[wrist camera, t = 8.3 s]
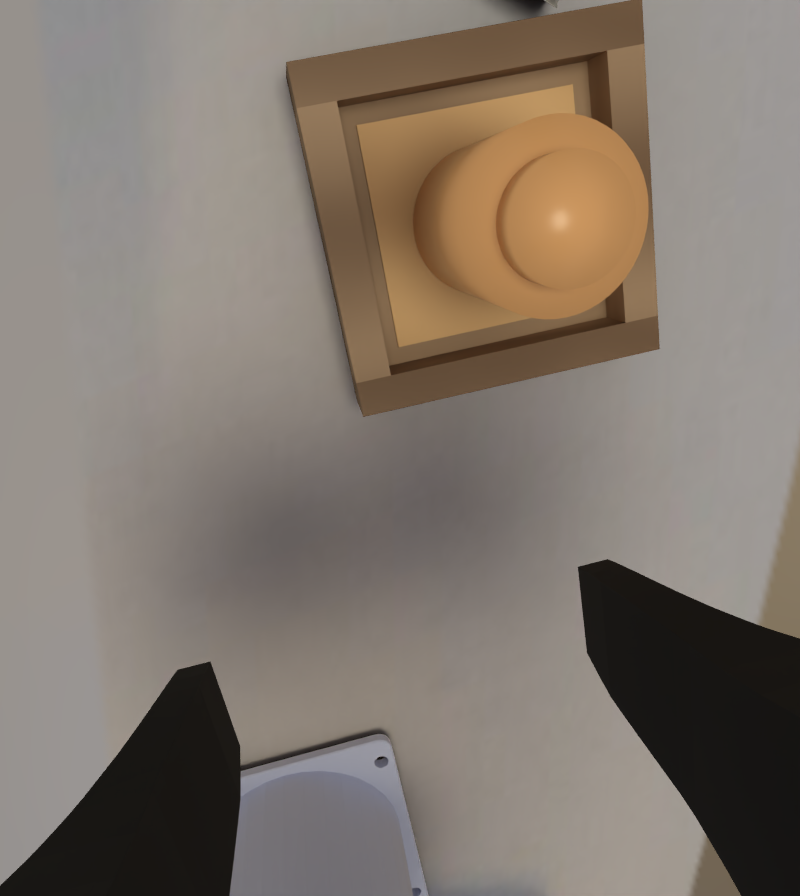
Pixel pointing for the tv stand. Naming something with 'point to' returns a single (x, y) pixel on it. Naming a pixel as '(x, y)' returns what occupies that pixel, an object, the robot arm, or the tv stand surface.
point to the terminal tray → (413, 157)
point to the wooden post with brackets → (552, 2)
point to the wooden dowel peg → (535, 216)
